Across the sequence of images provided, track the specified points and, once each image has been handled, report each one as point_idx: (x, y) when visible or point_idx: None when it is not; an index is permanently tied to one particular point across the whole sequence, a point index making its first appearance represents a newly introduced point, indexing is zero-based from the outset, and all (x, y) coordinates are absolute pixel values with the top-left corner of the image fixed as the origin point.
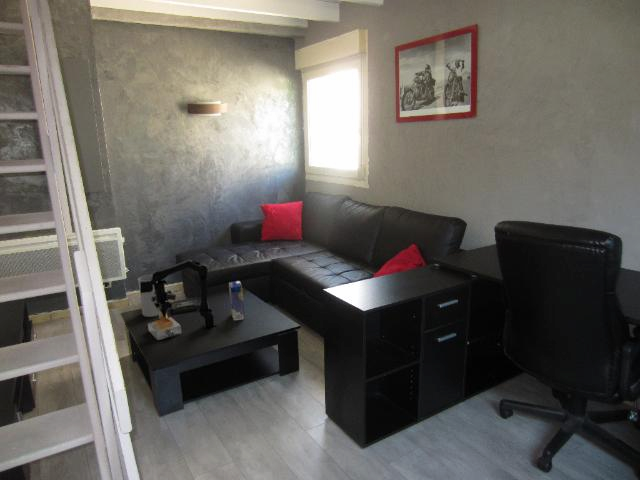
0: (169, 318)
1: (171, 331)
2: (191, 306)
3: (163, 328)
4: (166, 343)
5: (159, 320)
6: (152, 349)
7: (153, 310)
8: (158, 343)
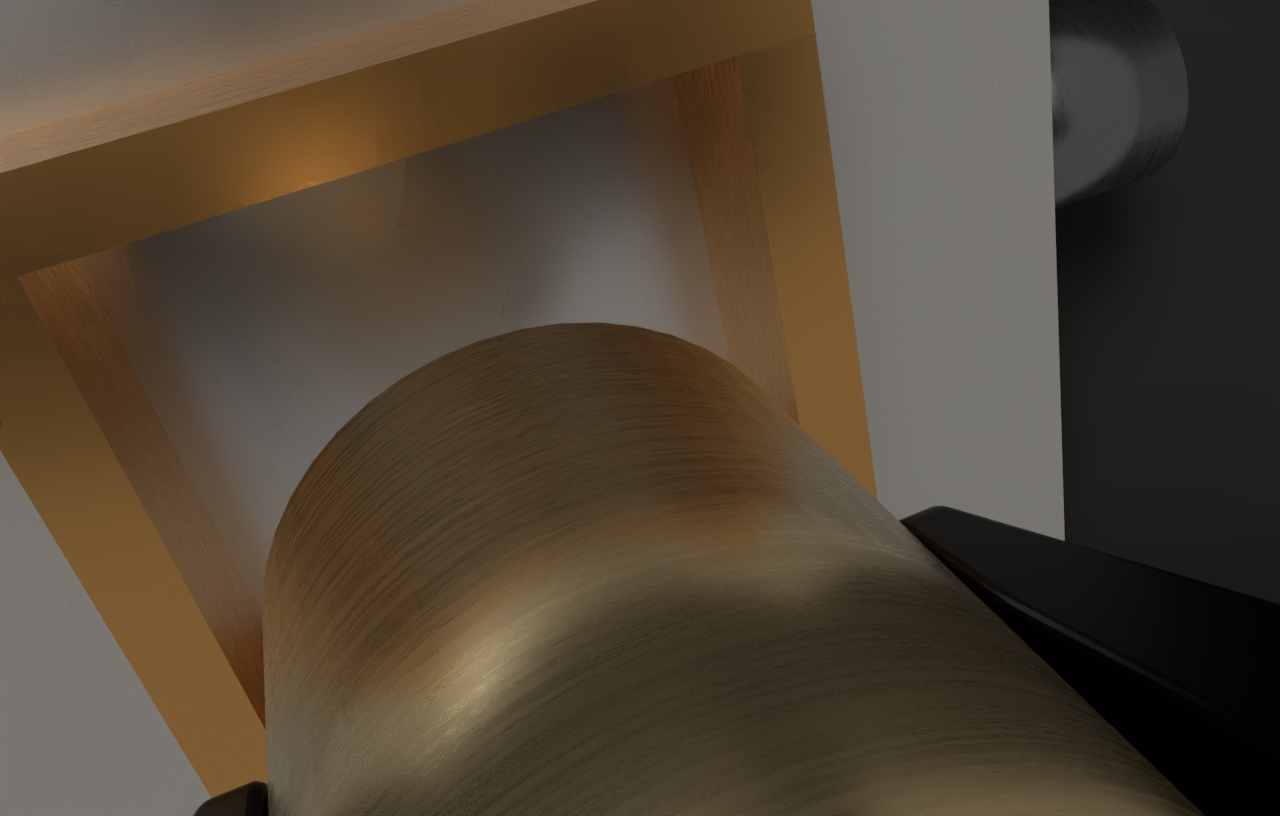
0: None
1: (1139, 76)
2: None
3: (899, 397)
4: (1205, 233)
5: (244, 684)
6: (1257, 530)
7: None
8: (1079, 428)
